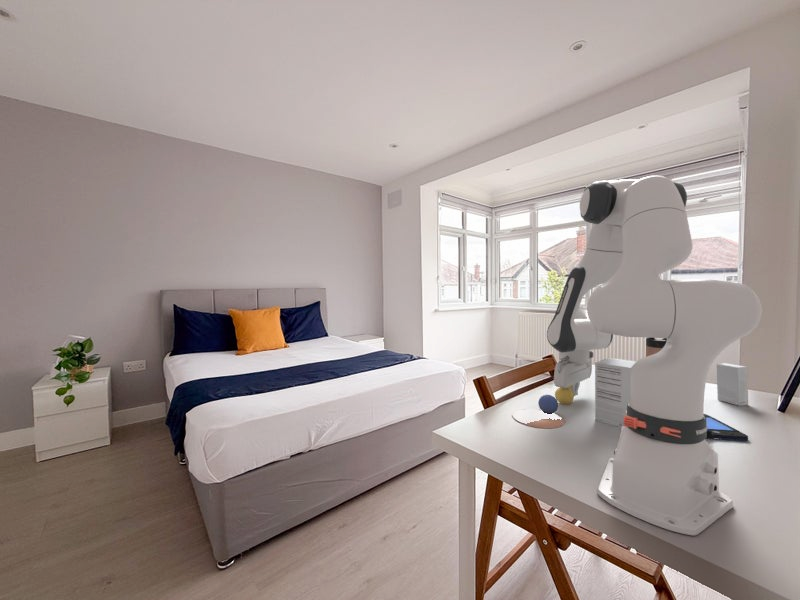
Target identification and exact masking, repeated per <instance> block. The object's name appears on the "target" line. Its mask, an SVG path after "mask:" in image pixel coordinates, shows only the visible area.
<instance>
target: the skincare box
mask: <svg viewBox="0 0 800 600" xmlns="http://www.w3.org/2000/svg"><path fill="white" fill-rule="evenodd" d="M748 371H749V370H748V366H745V365H740V364H733V363H727V362H722V363H721V362H720V363H717V364H716V385H717V386H716V387H717V388H716V389H717V401H721V402H724V403H729V404H731V405H736V406H740V407H742V406H748V405H749V376H748V375H749V373H748Z"/></svg>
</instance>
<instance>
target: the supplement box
mask: <svg viewBox="0 0 800 600" xmlns="http://www.w3.org/2000/svg"><path fill="white" fill-rule="evenodd" d="M636 362H637V361H635V360H629V359H623V358H615V357H607V358H605V359H601V360H598V361H595V362H594V374H595V375H594V388H595V389H594V391H595V392H594V393H595V394H594V395H595V396H594V401H595V402H594V412H595V413H594V414H595V415H594V417H595V419H594V420H595V421H597V422H601V423H604V424H608V425H611V426H615V427H618V428H621V427H623V426H624V422H623V421H624V417H625V413H626V409H627V404H628V403H629V386H630V369H631V367H632V366H633V365H634V364H635V363H636Z"/></svg>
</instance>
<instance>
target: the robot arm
mask: <svg viewBox="0 0 800 600" xmlns="http://www.w3.org/2000/svg"><path fill="white" fill-rule="evenodd" d="M687 202H688V194H687V191H686V189H685V187H684V186H683V184H680V183H677V182H674V181H673V180H671V179H670V178H669V177H666V176H663V175H649V176H646V177H642V178H640V179H619V180H618V179H616V180H605V179H604V180H598V181H594V182H591V183H590V184H588V186H586V188H585V189H584V191H583V193H582V195H581V197H580V200H579V211H580V212H579V213H580V217H581V218H582V219H583V220H584V222H586V223H589V224H592V225H591V228H590V231H589V234H588V237H587V242H586V245H585V247H586V248H585V251H584V253H583V256H582V257H581V259H580V262H579V263H578V264H577V265H576V267H574V268H573V269H571V271H570V272H569V274H568V276H567V279H566V281H565V285H564V286H563V290H562V292H561V295H560V300H559V302H558V305H557V307H556V311H555V313H554V316H553V318H552V320H551V322H550V324H548V328H547V332H546V338H547V341H548V343H549V345H550V346H551V347H552V348H553V349H554V350H555V351H557V352H558V359H559V360H558V362H557V363H556V364H555V366H554V373H553V384H554V387H557V388H569V389H570V390H571V391H572V392H573V394H574V397H576V396H577V395H579V388H580V386H581V385H580V384H581V382H583V381H585V380H587V379H590V378H591V375H592V372H593V358H594V351H593V350H602V349H607V348H609V346H610V345H611V343H612V342H613V338H614V336H619V337H625V338H627V337H628V338H655V339H663V338H666V339H667V341H666V344H665V346H664V347H663V348H662V349H661V350H660V351H659V352H658V353H656V354H653V355H650V356H647V357H646V356H645V357H642V358H640V359H639V360H637V361H636V363H635V364H634V365H633V366H632V367H631V369H630V386H629V403H628V404H627V409H626V413H625V417H624V421H623V422H624V426H623V427H620V430H621V431H620V432H621V433H620V436H619V439H618V443H617V446H616V449H614V451H613V455H614V457H609V459H608V460H607V464H606V465H605V466H606V467H605V468H604V472H603V474H602V475H601V479H600V481H599V485H598V487H597V495H598V496H599V497H600V498H602V500H604V501H605V502H606V503H609V504H610V505H611V506H612V507H615V508H617V509H619V510H621V511H623V512H625V513H627V514H629V515H631V516H633V517H635V518H637V519H639V520H642V521H644V522H647V523H648V524H652V525H654V526H657V527H659V528H663V529H665V530H667V531H671V532H673V533H674V532H675V533H679V534H684V535H687V536H688V535H689V536H697V535H699V534H700V533H702V532H703V531H704V530H706V529H707V528H708V527H709V526H710V525H712V524H713V523H714V522H716V521H717V520H718V519H719V518H721V517H722V516H723V515H724V514H726V513H727V512H728V511H729V510H731V509H733V508H734V503H733V499H732V498H731V497H730V496H729V495H727V494H725V493H723V492H722V491H720V475H719V473H720V472H719V455H718V453H717V451H716V450H715V449H714V448H712V447H711V446H710V444H709V443H708V442H707V440H706V439H707V438H706V437H707V429H708V427H707V422H706V417H705V416H704V415H703V414H704V406H705V404H704V403H705V391H706V390H705V389H706V384H707V382H706V381H707V377H708V373H709V371H710V369H711V367H712V365H713V364H714V362H715V361H716V359H717V357H718V356H719V355H720V354H721V353H722V352H723V351H724V350H726V348H728V347H730V345H732V344H733V343H735V342H736V341H738V340H741V339H743V338H744V337H746V336H748V335H749V334H750V333H752V332H753V331H755V329H756V328H757V326H758V325H759V323H760V321H761V319H762V314H763V306H762V305H763V304H762V302H761V300H760V298H759V296H758V295H757V294H756V292H755V291H754V290H753V289H752V288H750V287H749V286H747V284H745V283H740V282H734V281H726V280H716V279H678V280H677V279H675V280H673V279H671V280H670V279H669V280H667V279H661V278H660V275H661V274H663V273H666V272H668V271H670V270H673V269H675V268H676V267H678V266H679V265H681V264H683V263H684V262H686V261H687V259H688V258H689V257H690V255H691V253H692V251H693V241H692V234H691V230H690V223H689V220H688V215H687V211H686V207H687ZM593 288H595V289H594V290H593ZM590 290H593V291H592V293H591V294H590V296H589V297H588V299H587V303H586V307H585V306H582V305H581V303H582V300H583V298H584V296H585V295H586V294H587V293H588V292H589V291H590Z"/></svg>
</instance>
